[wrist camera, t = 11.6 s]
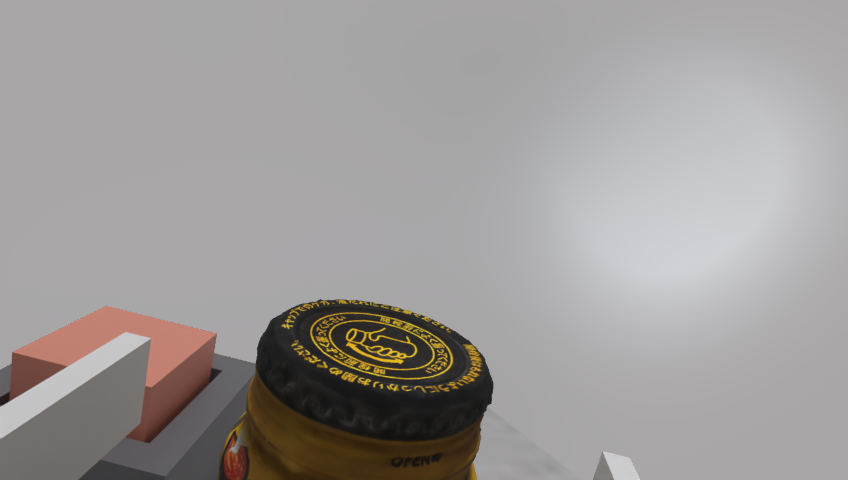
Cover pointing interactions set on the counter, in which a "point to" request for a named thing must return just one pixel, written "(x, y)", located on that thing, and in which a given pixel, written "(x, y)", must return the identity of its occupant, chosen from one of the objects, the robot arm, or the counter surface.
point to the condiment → (359, 398)
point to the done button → (167, 366)
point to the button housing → (178, 431)
